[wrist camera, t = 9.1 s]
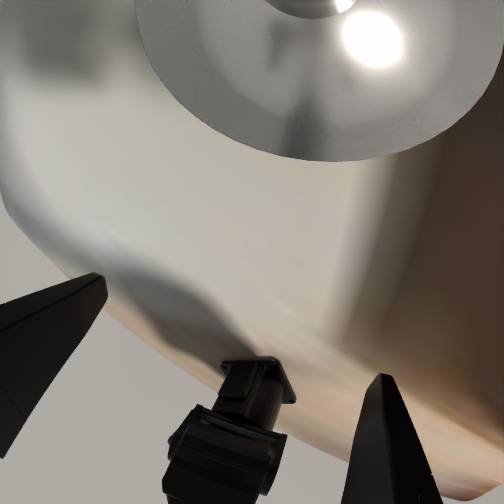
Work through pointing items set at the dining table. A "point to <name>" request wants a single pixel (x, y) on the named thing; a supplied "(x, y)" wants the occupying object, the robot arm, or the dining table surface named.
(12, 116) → the dining table surface
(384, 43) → the lid
